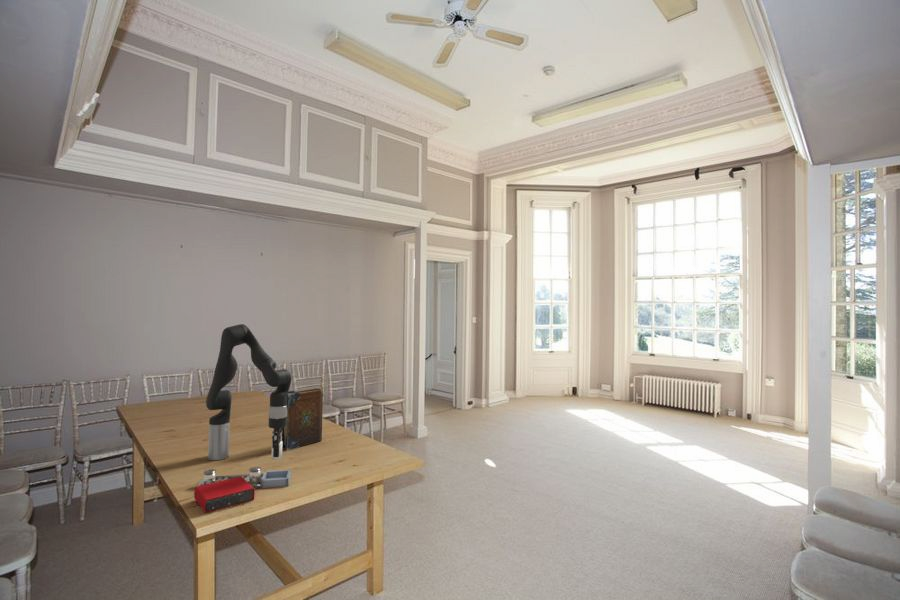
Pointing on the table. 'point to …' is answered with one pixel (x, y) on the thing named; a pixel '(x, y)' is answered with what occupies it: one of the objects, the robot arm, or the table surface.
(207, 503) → the red device housing
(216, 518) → the table surface
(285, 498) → the table surface
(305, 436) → the decorative book
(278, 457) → the halved boiled egg
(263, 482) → the tray
